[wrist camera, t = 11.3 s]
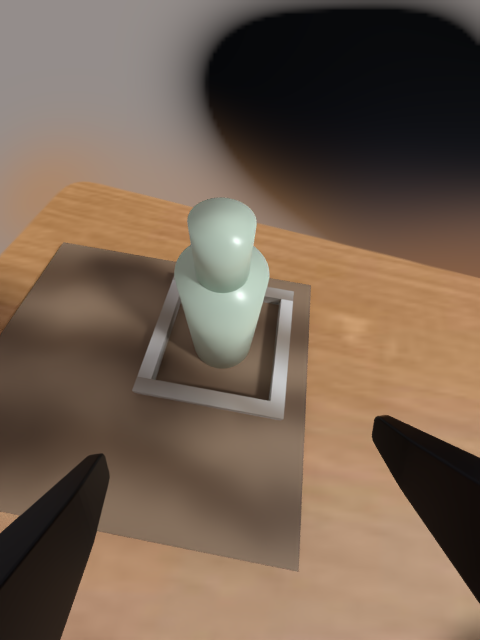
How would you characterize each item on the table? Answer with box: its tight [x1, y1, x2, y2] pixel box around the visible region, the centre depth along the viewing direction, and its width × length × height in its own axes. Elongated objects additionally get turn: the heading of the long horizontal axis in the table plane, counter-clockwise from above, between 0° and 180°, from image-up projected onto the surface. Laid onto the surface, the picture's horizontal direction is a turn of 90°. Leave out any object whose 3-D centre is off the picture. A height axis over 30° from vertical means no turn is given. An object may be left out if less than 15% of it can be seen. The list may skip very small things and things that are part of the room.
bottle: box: [174, 198, 269, 369], centre depth 15 cm, size 5×5×12 cm
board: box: [0, 242, 311, 572], centre depth 19 cm, size 20×24×2 cm
